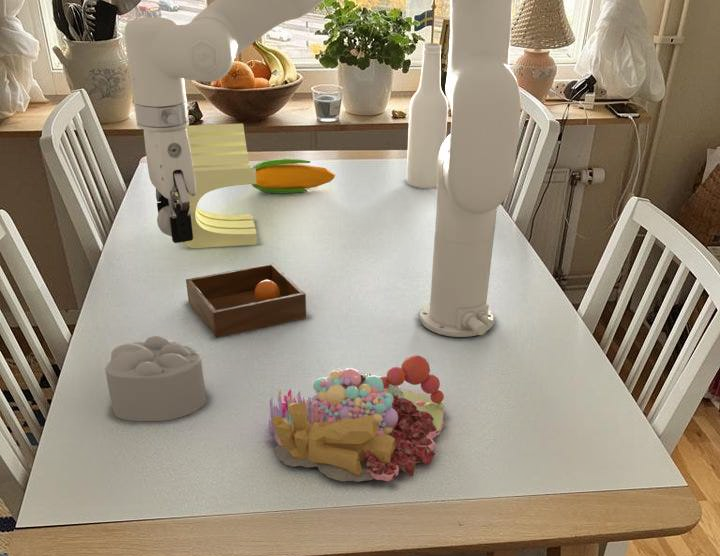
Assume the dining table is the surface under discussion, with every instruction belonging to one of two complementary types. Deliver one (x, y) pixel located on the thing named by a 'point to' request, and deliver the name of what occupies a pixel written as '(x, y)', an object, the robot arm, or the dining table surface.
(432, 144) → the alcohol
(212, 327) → the wooden tray
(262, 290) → the mandarin
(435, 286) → the robot arm
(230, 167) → the slatted curved stool
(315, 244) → the dining table surface
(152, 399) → the lumpy-topped squat cylinder
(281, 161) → the corn
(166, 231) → the garlic
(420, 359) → the colourful coral reef
